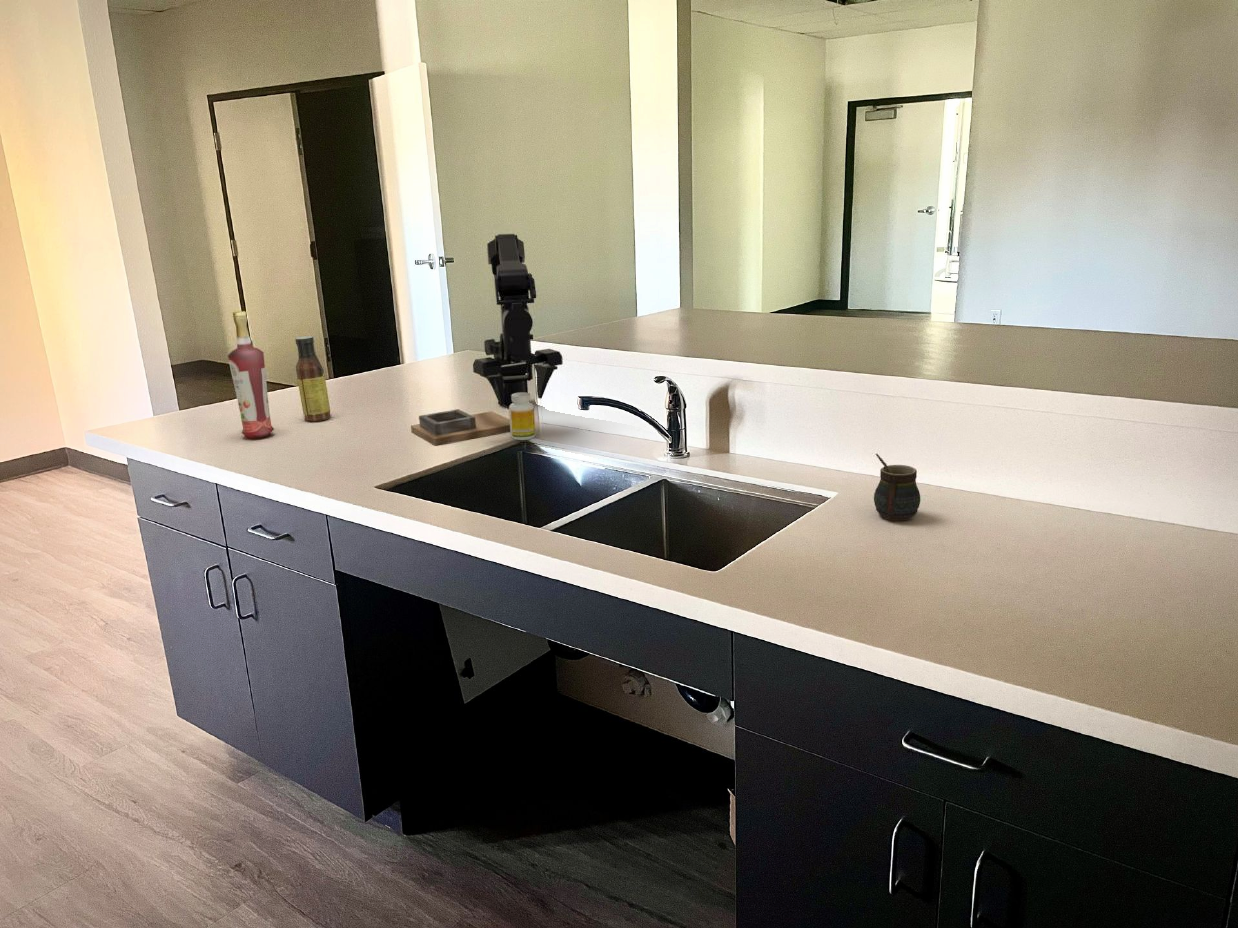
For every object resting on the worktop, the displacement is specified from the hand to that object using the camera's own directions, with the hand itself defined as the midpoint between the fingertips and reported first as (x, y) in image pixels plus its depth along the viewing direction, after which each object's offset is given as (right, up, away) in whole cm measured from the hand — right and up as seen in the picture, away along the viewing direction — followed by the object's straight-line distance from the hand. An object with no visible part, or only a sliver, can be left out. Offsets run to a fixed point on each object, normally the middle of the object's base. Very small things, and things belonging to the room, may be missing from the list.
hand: (520, 401), depth 194 cm
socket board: (-13, -6, +9) cm, 17 cm away
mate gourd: (+66, -22, -49) cm, 85 cm away
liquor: (-60, -7, +10) cm, 62 cm away
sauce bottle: (-52, -3, +23) cm, 57 cm away
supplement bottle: (0, -8, +2) cm, 8 cm away
